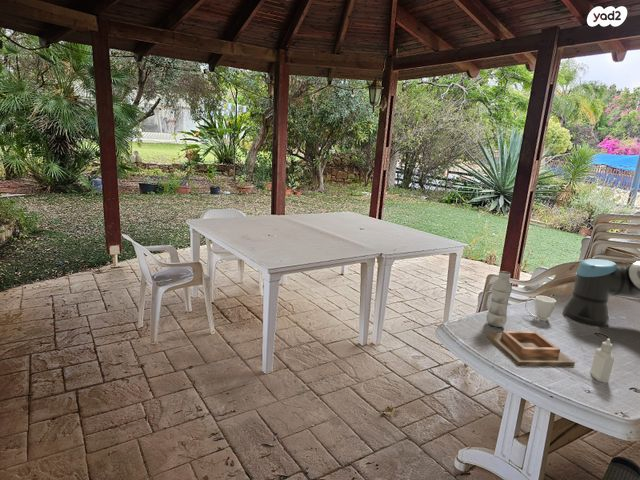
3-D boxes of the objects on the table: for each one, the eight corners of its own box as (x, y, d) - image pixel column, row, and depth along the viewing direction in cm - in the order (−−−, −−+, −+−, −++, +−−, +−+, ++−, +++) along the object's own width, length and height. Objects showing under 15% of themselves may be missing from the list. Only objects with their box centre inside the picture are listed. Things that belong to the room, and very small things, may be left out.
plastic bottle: (507, 330, 141) (517, 276, 137) (487, 327, 143) (496, 274, 138) (502, 323, 147) (512, 271, 143) (483, 320, 149) (492, 268, 144)
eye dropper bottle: (589, 378, 114) (599, 340, 111) (590, 370, 118) (599, 333, 115) (607, 384, 111) (618, 345, 108) (608, 376, 116) (618, 338, 113)
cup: (551, 323, 150) (555, 303, 148) (522, 316, 155) (526, 296, 153) (552, 318, 156) (557, 298, 154) (524, 310, 161) (528, 291, 159)
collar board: (536, 337, 138) (538, 327, 137) (574, 365, 120) (576, 354, 119) (486, 336, 135) (488, 326, 134) (518, 365, 118) (520, 354, 117)
